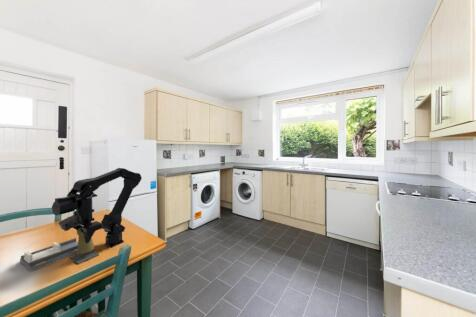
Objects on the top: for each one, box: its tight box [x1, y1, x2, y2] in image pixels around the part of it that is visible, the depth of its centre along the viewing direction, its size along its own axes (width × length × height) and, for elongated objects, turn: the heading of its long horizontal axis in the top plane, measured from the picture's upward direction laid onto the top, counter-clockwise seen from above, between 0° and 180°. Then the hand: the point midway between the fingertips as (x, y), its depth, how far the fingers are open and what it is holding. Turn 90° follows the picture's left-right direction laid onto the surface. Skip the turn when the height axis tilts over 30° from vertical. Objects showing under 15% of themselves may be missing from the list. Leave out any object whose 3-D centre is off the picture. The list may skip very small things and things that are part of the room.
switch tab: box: [23, 241, 61, 263], centre depth 83 cm, size 10×7×3 cm
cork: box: [76, 227, 95, 254], centre depth 86 cm, size 6×6×11 cm
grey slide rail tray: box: [19, 237, 78, 272], centre depth 86 cm, size 19×12×3 cm, turn 153°
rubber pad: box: [69, 250, 100, 265], centre depth 86 cm, size 8×8×1 cm
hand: (84, 241), depth 86 cm, fingers closed on cork, 4 cm apart
